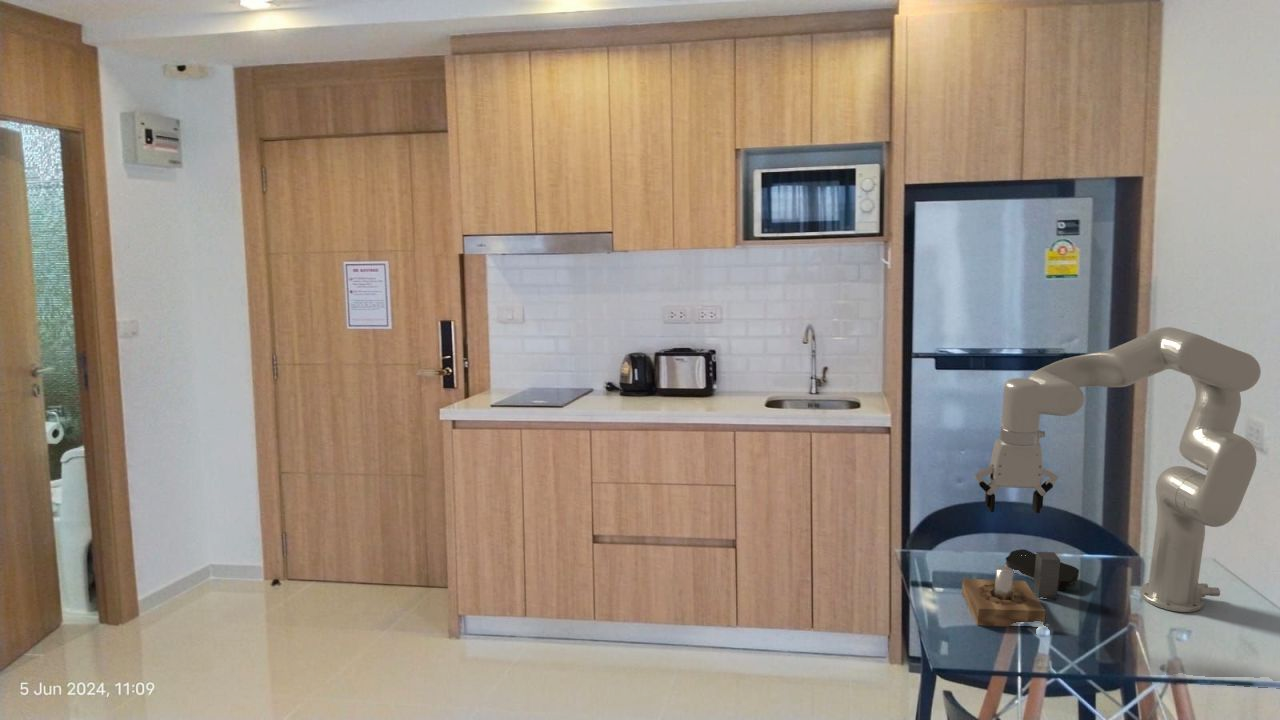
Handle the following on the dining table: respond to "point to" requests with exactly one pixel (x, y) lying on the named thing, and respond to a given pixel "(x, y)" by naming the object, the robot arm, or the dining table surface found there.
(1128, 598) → the dining table surface
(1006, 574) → the round bit
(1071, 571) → the black sponge
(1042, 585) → the square bit
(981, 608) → the socket block
